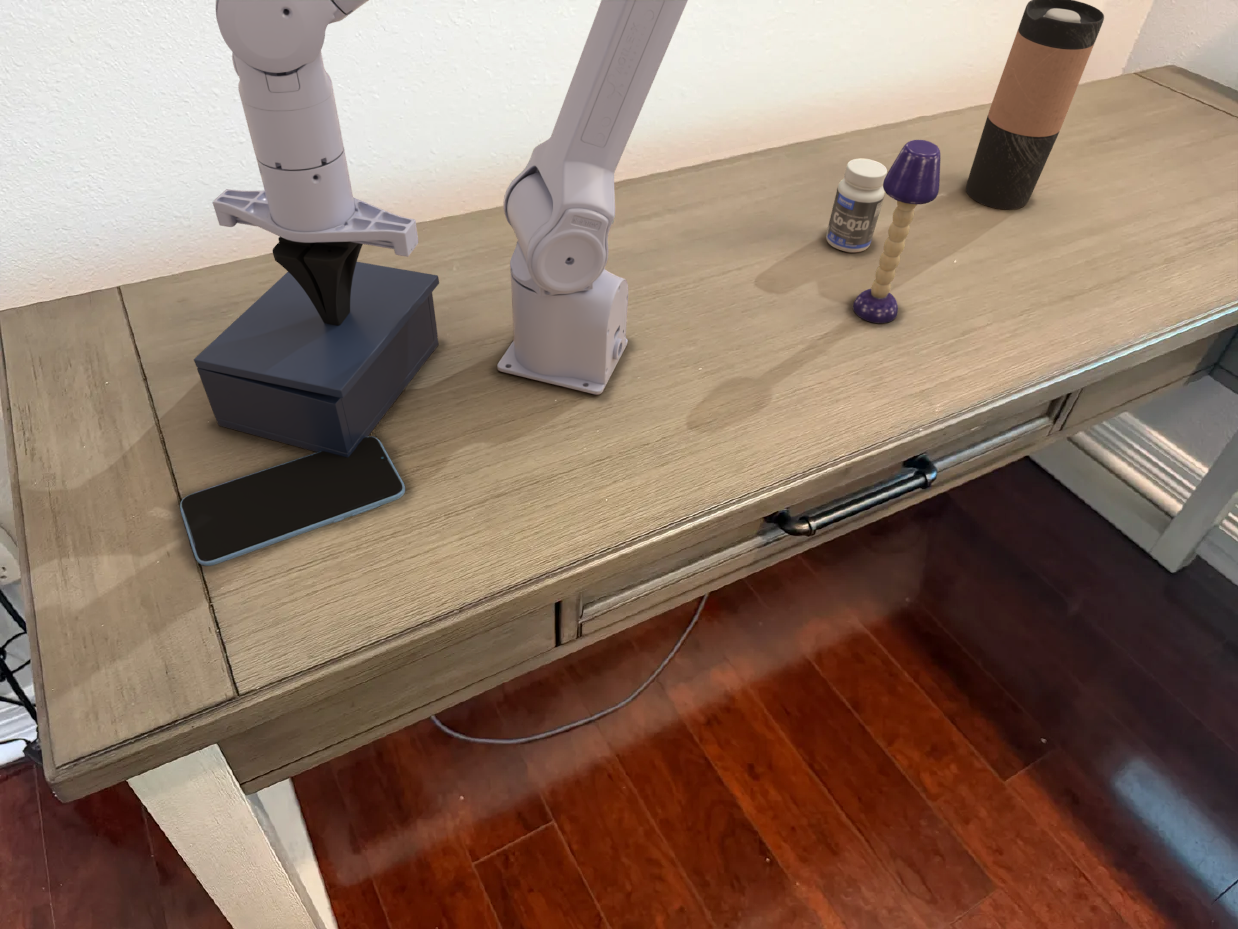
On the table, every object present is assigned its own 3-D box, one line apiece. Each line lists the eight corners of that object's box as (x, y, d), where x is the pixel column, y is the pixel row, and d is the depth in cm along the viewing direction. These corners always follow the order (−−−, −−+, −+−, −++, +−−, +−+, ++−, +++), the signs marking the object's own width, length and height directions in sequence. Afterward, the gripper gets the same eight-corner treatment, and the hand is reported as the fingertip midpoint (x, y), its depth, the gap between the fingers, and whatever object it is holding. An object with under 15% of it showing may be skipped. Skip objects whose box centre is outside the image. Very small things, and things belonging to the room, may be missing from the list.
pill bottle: (820, 246, 93) (838, 171, 87) (830, 225, 96) (848, 151, 90) (865, 257, 92) (886, 182, 86) (874, 236, 95) (895, 161, 89)
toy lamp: (904, 327, 84) (959, 159, 72) (855, 327, 83) (903, 158, 72) (890, 297, 87) (940, 132, 75) (843, 297, 87) (887, 131, 75)
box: (439, 344, 79) (432, 289, 75) (349, 461, 68) (335, 404, 64) (322, 316, 81) (309, 261, 77) (217, 425, 70) (196, 368, 66)
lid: (439, 283, 74) (438, 274, 74) (343, 398, 64) (340, 390, 63) (309, 260, 77) (307, 252, 76) (196, 367, 66) (192, 359, 66)
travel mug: (1038, 190, 104) (1113, 7, 90) (1021, 218, 99) (1097, 29, 85) (974, 171, 107) (1036, -9, 92) (954, 197, 102) (1017, 11, 88)
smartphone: (175, 496, 65) (375, 430, 70) (179, 504, 65) (377, 438, 71) (197, 567, 60) (409, 490, 66) (201, 575, 61) (410, 498, 66)
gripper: (424, 140, 62) (443, 303, 71) (232, 111, 63) (275, 274, 73) (383, 188, 57) (409, 356, 66) (175, 155, 59) (230, 324, 68)
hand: (337, 317), depth 69 cm, fingers closed
